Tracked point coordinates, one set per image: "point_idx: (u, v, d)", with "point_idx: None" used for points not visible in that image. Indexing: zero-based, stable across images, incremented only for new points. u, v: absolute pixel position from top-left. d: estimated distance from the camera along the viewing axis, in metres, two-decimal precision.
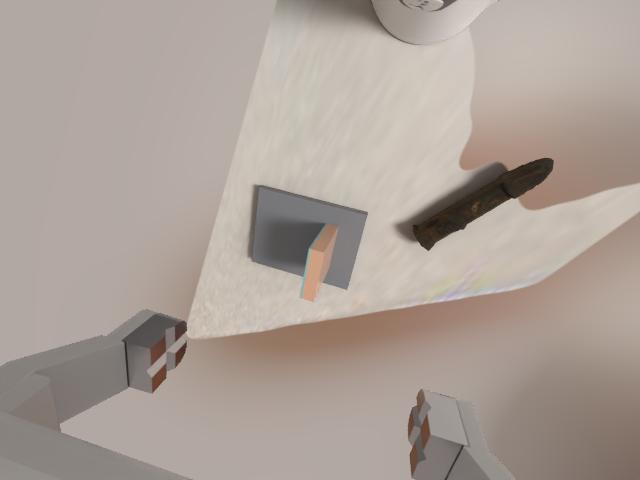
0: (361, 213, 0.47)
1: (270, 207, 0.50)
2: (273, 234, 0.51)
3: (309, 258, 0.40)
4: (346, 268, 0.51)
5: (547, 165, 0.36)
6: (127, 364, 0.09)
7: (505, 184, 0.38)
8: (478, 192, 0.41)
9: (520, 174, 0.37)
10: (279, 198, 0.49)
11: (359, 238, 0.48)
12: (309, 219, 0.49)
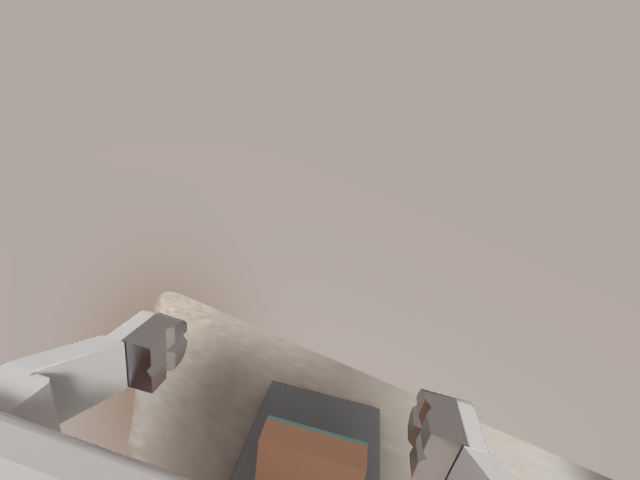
0: None
1: (354, 420, 0.36)
2: (315, 418, 0.35)
3: (349, 441, 0.23)
4: None
5: None
6: (127, 364, 0.09)
7: None
8: None
9: None
10: (371, 435, 0.34)
11: None
12: None
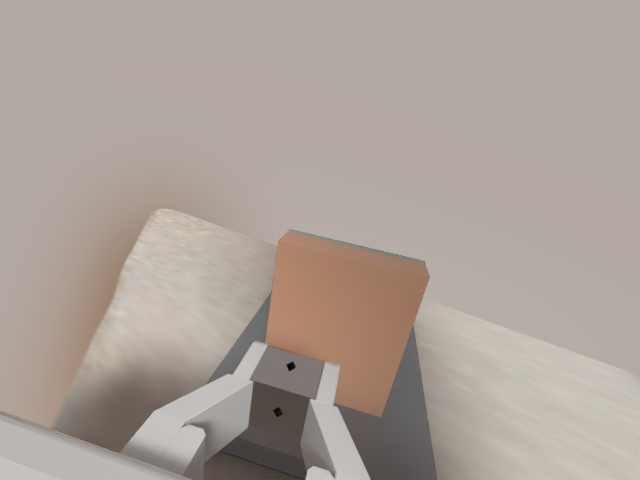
0: None
1: None
2: None
3: (399, 257, 0.17)
4: None
5: None
6: (251, 403, 0.09)
7: None
8: None
9: None
10: None
11: None
12: None
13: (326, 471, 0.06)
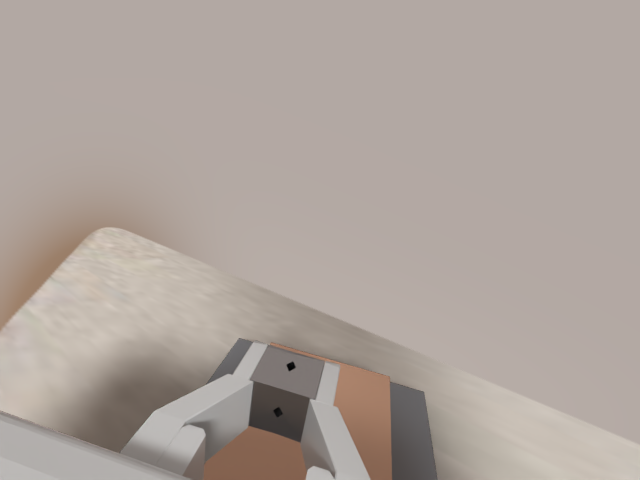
0: None
1: None
2: None
3: None
4: None
5: None
6: (251, 403, 0.09)
7: None
8: None
9: None
10: (415, 436, 0.18)
11: None
12: None
13: (326, 471, 0.06)
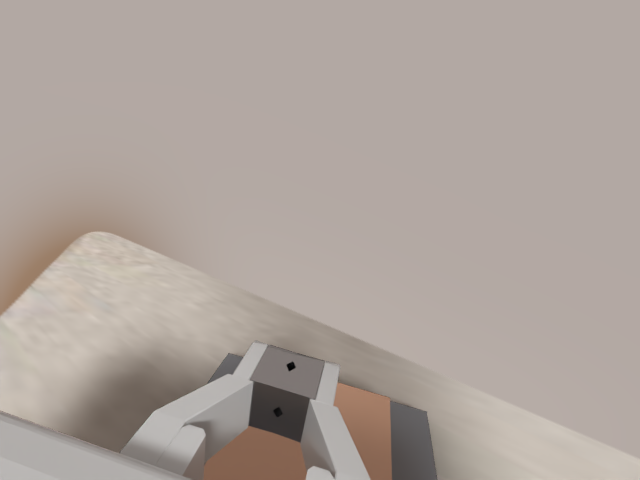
0: None
1: None
2: None
3: None
4: None
5: None
6: (251, 403, 0.09)
7: None
8: None
9: None
10: (418, 464, 0.16)
11: None
12: None
13: (326, 471, 0.06)
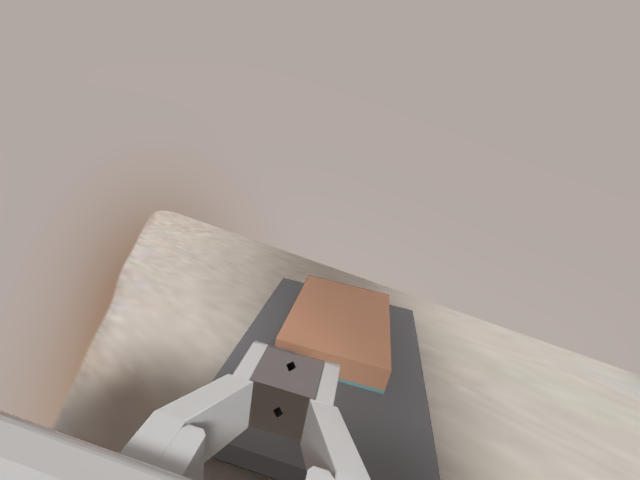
0: None
1: None
2: None
3: None
4: (258, 433, 0.17)
5: None
6: (251, 403, 0.09)
7: None
8: None
9: None
10: (405, 329, 0.28)
11: None
12: None
13: (326, 471, 0.06)
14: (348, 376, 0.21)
